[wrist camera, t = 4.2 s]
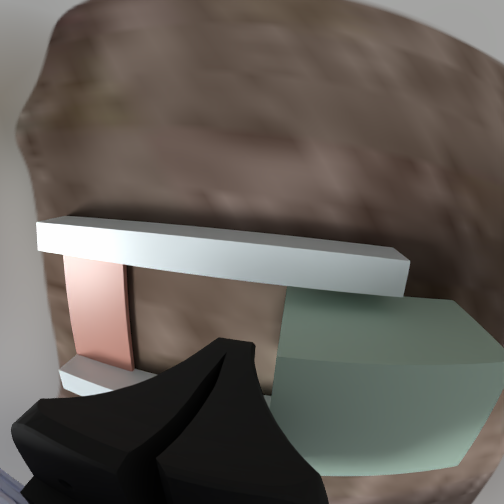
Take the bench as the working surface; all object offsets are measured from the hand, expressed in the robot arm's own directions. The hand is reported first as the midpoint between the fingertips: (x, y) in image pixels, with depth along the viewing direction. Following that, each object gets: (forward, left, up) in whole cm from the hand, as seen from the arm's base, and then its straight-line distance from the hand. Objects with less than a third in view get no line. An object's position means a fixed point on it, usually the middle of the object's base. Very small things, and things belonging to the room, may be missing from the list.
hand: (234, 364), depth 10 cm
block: (0, -5, -2) cm, 5 cm away
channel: (0, +2, -2) cm, 3 cm away
